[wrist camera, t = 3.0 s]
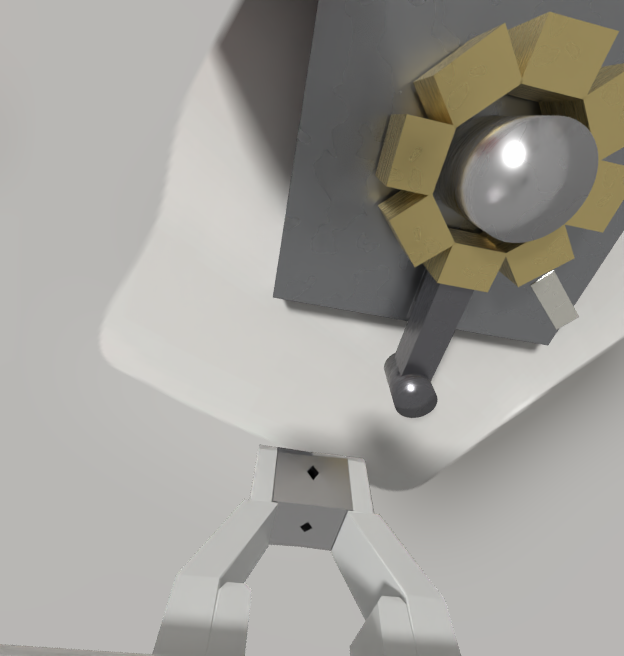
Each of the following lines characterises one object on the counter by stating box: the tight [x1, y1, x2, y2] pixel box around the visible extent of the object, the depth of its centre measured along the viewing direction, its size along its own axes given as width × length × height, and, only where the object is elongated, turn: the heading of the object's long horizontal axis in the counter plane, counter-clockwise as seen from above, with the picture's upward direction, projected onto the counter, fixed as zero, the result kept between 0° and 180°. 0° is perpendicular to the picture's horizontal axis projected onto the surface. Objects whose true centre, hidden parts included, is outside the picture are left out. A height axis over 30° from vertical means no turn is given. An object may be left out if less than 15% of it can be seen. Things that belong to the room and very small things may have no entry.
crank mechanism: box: [273, 0, 624, 345], centre depth 16 cm, size 18×19×7 cm
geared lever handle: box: [375, 12, 624, 418], centre depth 17 cm, size 18×10×4 cm, turn 169°
